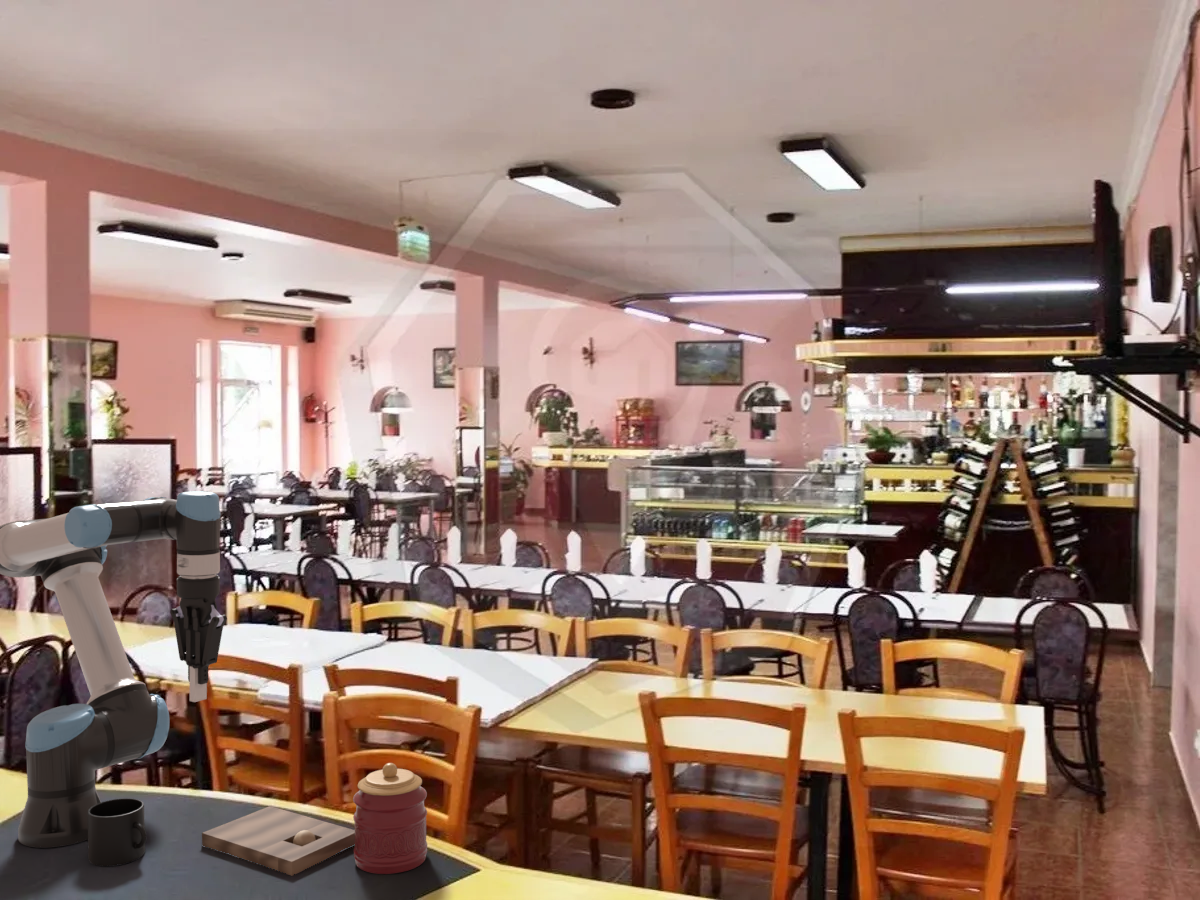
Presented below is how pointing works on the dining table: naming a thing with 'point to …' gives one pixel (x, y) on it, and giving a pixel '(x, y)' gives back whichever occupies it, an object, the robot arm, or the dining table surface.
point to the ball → (303, 838)
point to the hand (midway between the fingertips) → (198, 699)
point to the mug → (116, 832)
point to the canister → (390, 821)
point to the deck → (278, 839)
